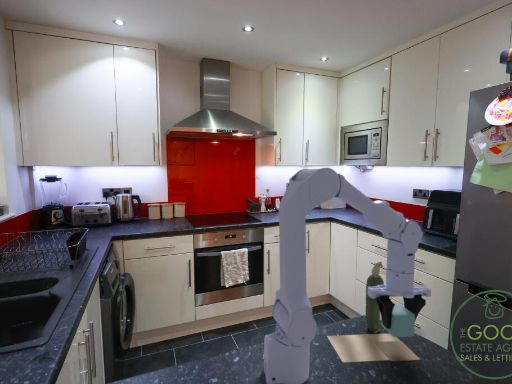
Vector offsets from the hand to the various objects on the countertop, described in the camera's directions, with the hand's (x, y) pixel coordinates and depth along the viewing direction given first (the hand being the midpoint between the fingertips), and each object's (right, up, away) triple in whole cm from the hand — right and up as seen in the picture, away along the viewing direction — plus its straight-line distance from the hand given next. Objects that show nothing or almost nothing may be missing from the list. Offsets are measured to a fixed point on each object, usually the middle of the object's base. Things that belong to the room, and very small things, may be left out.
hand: (397, 326), depth 64 cm
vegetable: (-2, -7, +10) cm, 12 cm away
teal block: (0, -1, 0) cm, 1 cm away
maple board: (-6, -7, +2) cm, 9 cm away
